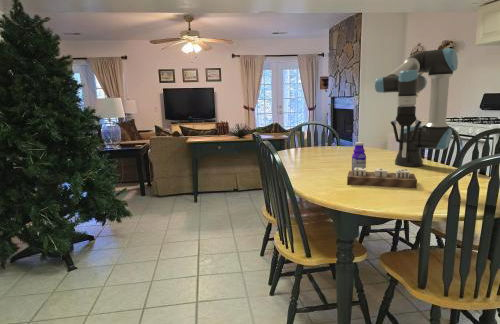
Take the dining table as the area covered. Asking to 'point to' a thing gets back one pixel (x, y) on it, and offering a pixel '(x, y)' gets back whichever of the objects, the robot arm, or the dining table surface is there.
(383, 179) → the keyboard base
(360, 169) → the key two
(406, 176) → the key three
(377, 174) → the cream block
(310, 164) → the dining table surface
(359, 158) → the bottle
